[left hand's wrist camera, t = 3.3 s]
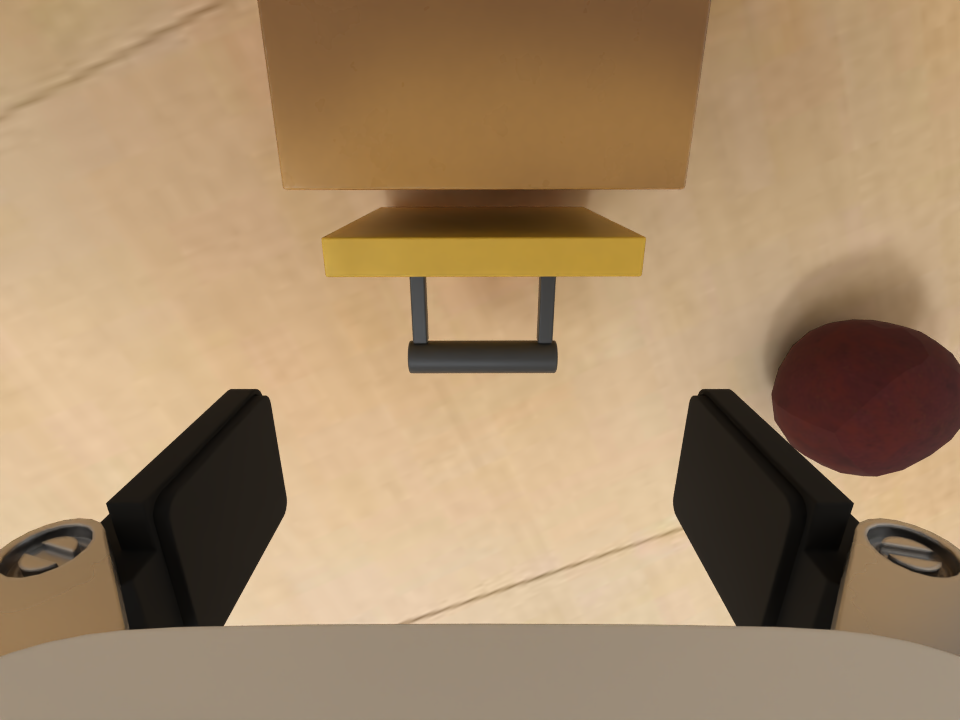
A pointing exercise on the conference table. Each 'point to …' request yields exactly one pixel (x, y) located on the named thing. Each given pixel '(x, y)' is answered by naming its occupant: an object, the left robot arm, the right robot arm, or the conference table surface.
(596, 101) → the cabinet
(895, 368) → the potato
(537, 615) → the conference table surface
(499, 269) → the drawer
